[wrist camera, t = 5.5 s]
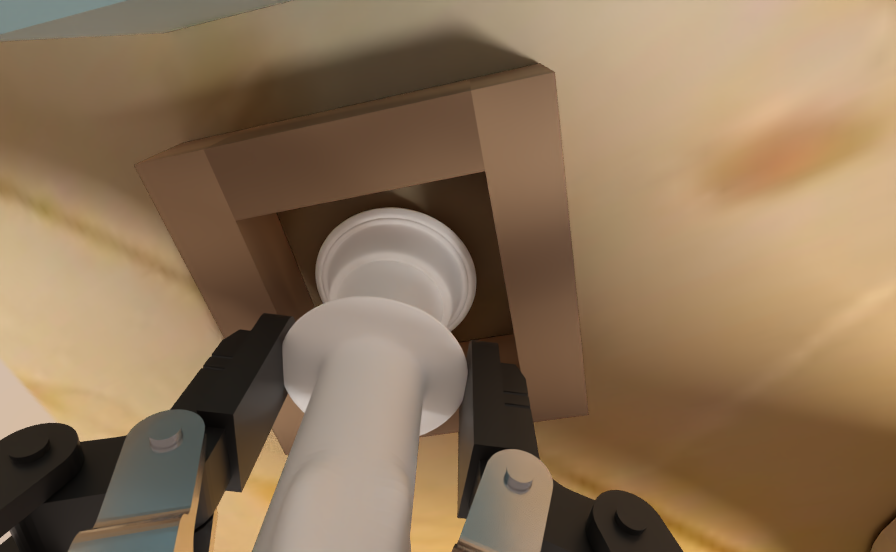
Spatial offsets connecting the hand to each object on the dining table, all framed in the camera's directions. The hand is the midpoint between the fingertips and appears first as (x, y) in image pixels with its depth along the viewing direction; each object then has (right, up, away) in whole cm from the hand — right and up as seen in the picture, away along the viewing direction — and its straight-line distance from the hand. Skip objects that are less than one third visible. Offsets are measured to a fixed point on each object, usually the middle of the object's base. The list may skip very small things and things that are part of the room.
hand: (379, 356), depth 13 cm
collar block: (0, +2, +4) cm, 5 cm away
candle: (0, +2, +4) cm, 4 cm away
